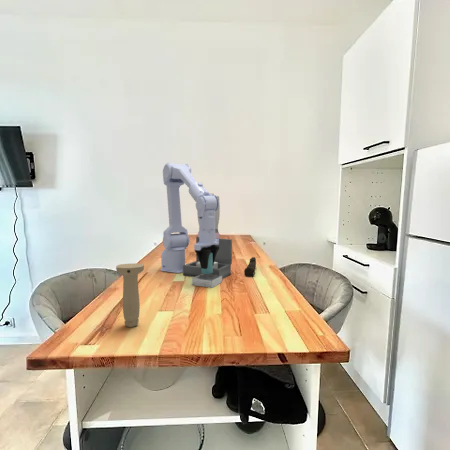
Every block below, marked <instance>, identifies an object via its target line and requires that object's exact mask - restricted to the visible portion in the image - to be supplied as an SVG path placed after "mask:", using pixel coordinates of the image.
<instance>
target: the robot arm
mask: <svg viewBox="0 0 450 450" xmlns="http://www.w3.org/2000/svg"><path fill="white" fill-rule="evenodd" d="M162 177H163V178H162V179H163V180H162V181H163V184H164V185H165V186H166V197H167V198H166V199H167V207H168V208H167V213H168V223H169V225H168V227H167V228H166V229H165V230H163V234H162V235H163V237H162V245H163V248H164V249H163V250H162V252H161V255H160V256H161V263H160V264H161V269H159V270H160V271H161V272H166V273H167V272H168V273H173V274H174V273H176V274H180V273H183V265H186V250H187V248H188V246H189V245H190V236H189V234H188V229H187V228H185V226H183V223H182V211H181V210H182V209H181V197H180V187H181V186H183V185H186V187H188V194H189V195H190V196H191V198H192V199H193V200H194V202H195V208H196V212H197V213H198V215H197V217H198V216H199V223H198V227H199V228H198V232H199V242H198V243H197V244H196V243H194V244H193V245H194V246H193V248H194V253H195V255H196V254H197V256H198V258H199V261H200V265H201V268H202V269H207V267H208V259H209V255H210V252H211V253H213V265H214V261H215V257H216V254H217V252H218V250H219V246H216V245H218V244H219V239H215V211H216V210H217V209H218V206H219V203H220V200H219V201H218V198H217V197H216V196H217V195H215V194H214V195H212V194H213V193H211V194H209V193H210V192H209V191H208V190H207V189H206V188H205V186H204V184H203V182H198V181H196V178H195V177H194V176H193V174H192V168H191V167H190V165H189V164H188V163H171V162H166V163H165V164H164V166H163V169H162ZM197 213H196V214H197Z"/></svg>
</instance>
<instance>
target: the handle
mask: <svg viewBox="0 0 450 450" xmlns="http://www.w3.org/2000/svg"><path fill="white" fill-rule="evenodd" d="M115 270H116V273H117V274H120V275H121V276H122V279H123V283H122V286H123V287H122V314H123V318H124V325H125V327H128V328H134V327H137V326H138V324H139V317H140V304H141V303H140V293H139V292H140V291H139V290H140V289H139V281H138V280H139V278H138V277H139V276H138V275H139V274H141V273H142V272H144V270H145V265H144V264H143V263H136V262H135V263H122V264H120V263H119V264H117V265H116V269H115Z"/></svg>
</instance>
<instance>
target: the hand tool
mask: <svg viewBox="0 0 450 450" xmlns="http://www.w3.org/2000/svg"><path fill="white" fill-rule="evenodd" d="M256 268H257V258H256V257H254V256H253V257H251V258H249V262H248V264H247V266H246V267H245V268H244V271H243V273H244V274H243V275H244V277H245V278H252V277H254V276H255V273H256V272H255V271H256Z"/></svg>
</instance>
